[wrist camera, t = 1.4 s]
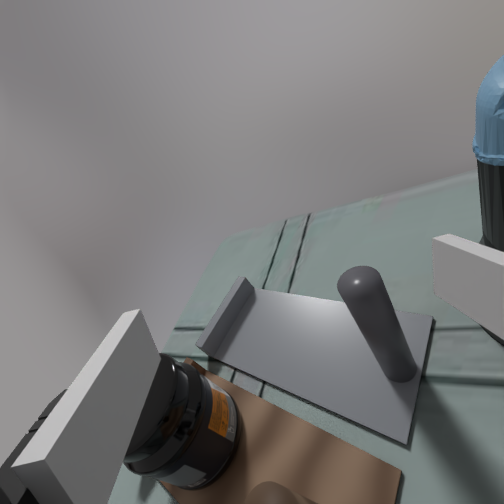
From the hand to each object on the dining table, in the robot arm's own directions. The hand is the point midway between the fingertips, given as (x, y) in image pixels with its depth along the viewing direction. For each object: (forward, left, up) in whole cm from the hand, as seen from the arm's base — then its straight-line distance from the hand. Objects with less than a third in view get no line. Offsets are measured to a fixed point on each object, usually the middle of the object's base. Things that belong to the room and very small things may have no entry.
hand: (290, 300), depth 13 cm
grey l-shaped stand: (+13, -7, -22) cm, 27 cm away
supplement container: (+19, +8, -22) cm, 30 cm away
